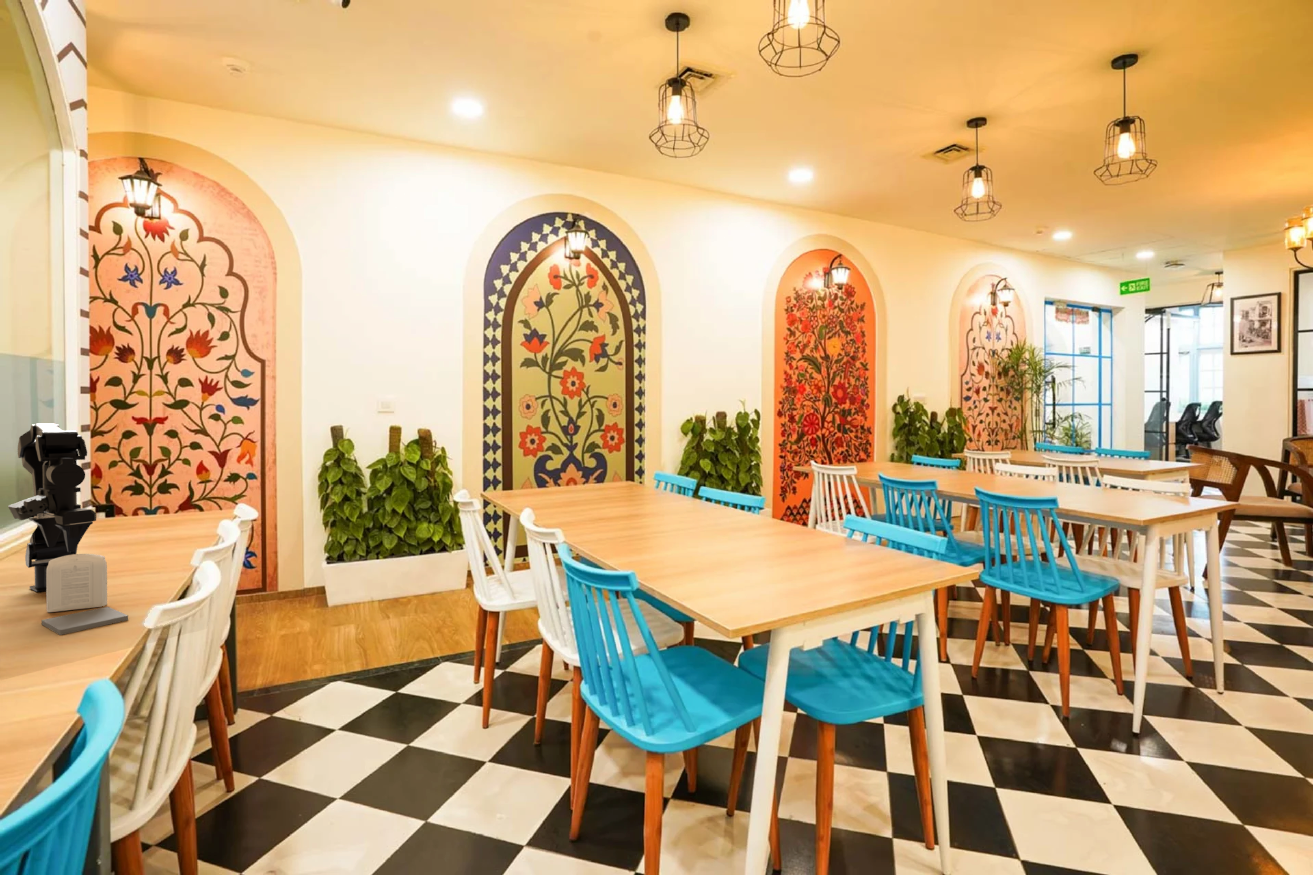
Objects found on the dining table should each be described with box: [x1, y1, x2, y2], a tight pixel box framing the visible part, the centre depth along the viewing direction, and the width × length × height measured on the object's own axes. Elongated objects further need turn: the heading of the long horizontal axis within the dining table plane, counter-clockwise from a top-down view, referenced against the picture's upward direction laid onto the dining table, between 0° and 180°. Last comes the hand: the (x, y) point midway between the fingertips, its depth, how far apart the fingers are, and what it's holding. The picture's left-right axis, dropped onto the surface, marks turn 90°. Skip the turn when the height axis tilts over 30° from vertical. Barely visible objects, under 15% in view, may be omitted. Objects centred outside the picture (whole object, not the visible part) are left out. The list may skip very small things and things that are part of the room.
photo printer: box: [45, 553, 108, 613], centre depth 142 cm, size 10×4×12 cm, turn 123°
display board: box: [41, 606, 129, 636], centre depth 133 cm, size 11×11×1 cm
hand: (61, 549), depth 148 cm, fingers open, 9 cm apart
